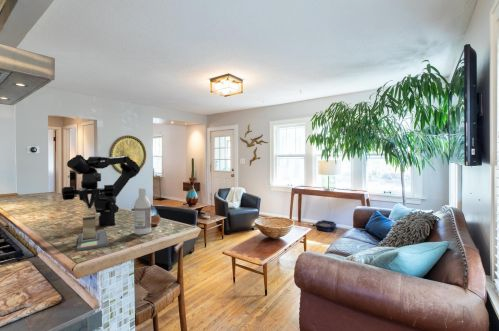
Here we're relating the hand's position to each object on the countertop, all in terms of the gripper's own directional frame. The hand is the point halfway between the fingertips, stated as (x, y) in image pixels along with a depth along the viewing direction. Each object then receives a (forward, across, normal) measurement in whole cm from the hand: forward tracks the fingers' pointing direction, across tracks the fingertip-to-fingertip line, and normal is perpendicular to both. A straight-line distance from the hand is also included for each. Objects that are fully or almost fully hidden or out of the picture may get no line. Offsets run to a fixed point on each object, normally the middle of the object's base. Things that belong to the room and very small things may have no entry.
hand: (89, 208), depth 101 cm
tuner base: (+12, +1, +6) cm, 13 cm away
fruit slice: (+4, +26, +14) cm, 29 cm away
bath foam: (+11, +20, +7) cm, 24 cm away
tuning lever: (+12, 0, +3) cm, 12 cm away
